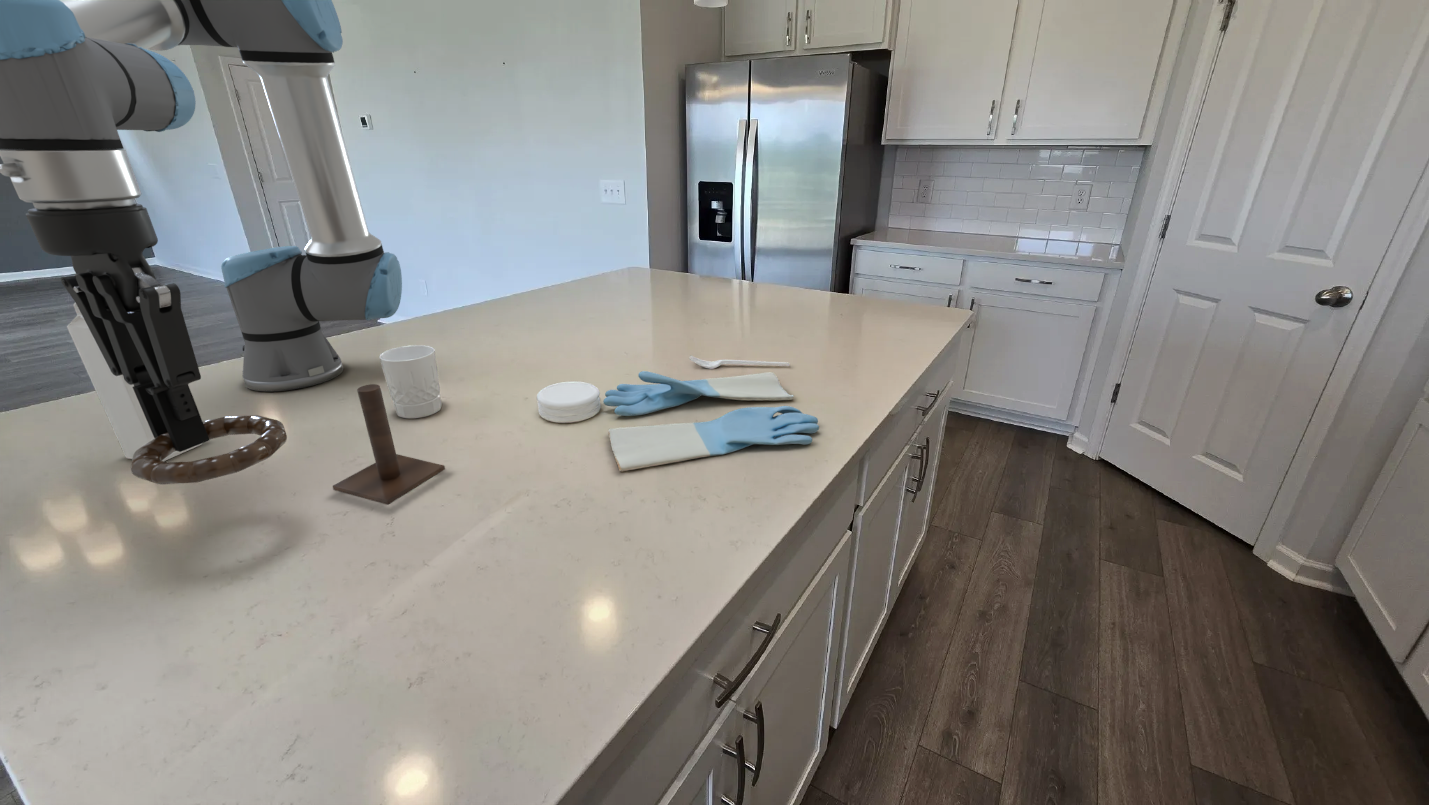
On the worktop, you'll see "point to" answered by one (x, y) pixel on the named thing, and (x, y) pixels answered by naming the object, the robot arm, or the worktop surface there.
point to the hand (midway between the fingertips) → (183, 442)
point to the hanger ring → (159, 472)
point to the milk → (113, 392)
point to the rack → (384, 458)
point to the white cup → (412, 380)
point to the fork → (733, 362)
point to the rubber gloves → (702, 437)
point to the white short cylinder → (568, 401)
